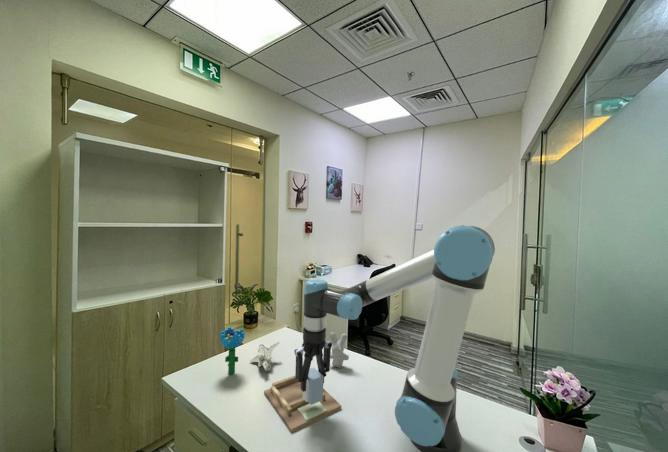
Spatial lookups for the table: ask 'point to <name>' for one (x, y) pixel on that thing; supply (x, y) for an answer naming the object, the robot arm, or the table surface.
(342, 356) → the bunny figurine
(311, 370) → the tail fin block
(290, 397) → the jig
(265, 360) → the toy spacecraft
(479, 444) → the table surface
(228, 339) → the toy flower
